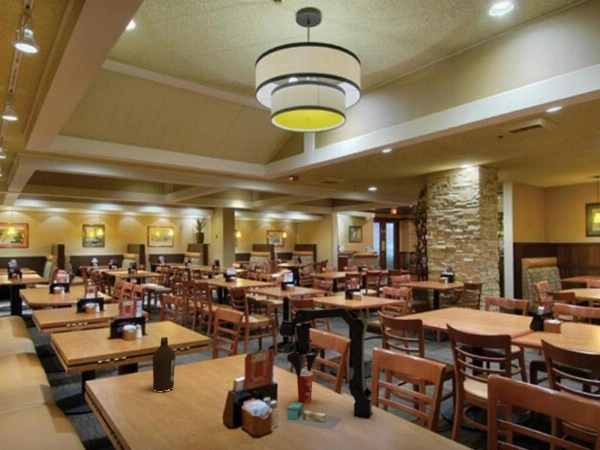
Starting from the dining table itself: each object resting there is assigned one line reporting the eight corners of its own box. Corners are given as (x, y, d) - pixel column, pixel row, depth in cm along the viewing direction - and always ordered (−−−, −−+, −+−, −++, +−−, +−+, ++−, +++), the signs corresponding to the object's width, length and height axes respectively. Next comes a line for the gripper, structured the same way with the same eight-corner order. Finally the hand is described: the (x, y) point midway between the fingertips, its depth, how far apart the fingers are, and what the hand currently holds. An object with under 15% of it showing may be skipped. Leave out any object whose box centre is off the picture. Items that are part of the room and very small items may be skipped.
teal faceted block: (303, 414, 174) (303, 403, 174) (296, 420, 167) (296, 409, 168) (294, 412, 175) (294, 401, 175) (287, 418, 169) (287, 407, 169)
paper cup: (311, 406, 183) (311, 373, 184) (294, 404, 185) (294, 372, 186) (314, 399, 191) (314, 368, 192) (298, 398, 193) (298, 367, 193)
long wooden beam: (326, 420, 167) (326, 413, 167) (324, 422, 165) (324, 416, 165) (305, 416, 171) (305, 410, 171) (303, 419, 168) (303, 412, 169)
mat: (342, 419, 170) (342, 418, 170) (332, 430, 159) (332, 429, 159) (296, 411, 178) (296, 410, 178) (284, 422, 167) (284, 421, 167)
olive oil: (150, 394, 199) (151, 340, 200) (153, 386, 209) (154, 336, 211) (173, 392, 201) (174, 339, 203) (175, 385, 212) (176, 335, 213)
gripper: (298, 332, 196) (299, 366, 196) (276, 339, 180) (276, 376, 179) (319, 334, 191) (320, 369, 190) (298, 342, 175) (299, 380, 174)
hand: (303, 373), depth 183 cm, fingers open, 9 cm apart
